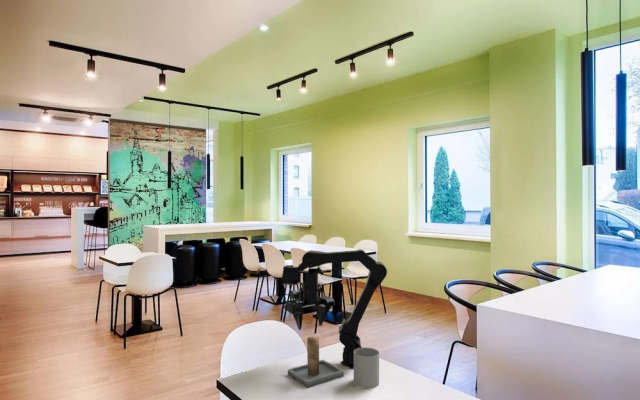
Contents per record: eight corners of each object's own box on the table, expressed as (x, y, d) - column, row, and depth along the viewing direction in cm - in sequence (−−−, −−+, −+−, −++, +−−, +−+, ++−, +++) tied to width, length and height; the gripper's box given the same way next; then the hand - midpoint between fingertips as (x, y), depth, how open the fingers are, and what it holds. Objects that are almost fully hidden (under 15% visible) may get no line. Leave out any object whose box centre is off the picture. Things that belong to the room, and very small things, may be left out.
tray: (322, 364, 147) (323, 359, 147) (343, 376, 137) (343, 370, 137) (287, 374, 138) (287, 369, 138) (307, 387, 128) (307, 382, 128)
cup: (378, 389, 127) (378, 357, 128) (352, 387, 129) (352, 355, 129) (379, 378, 136) (379, 348, 136) (355, 376, 137) (355, 346, 138)
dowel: (314, 370, 140) (314, 335, 140) (321, 374, 137) (321, 338, 137) (305, 373, 138) (305, 338, 138) (312, 377, 134) (311, 341, 134)
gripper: (318, 279, 161) (317, 318, 160) (277, 284, 150) (277, 326, 150) (335, 283, 152) (335, 325, 151) (293, 289, 141) (293, 334, 141)
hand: (310, 327), depth 148 cm, fingers open, 9 cm apart
